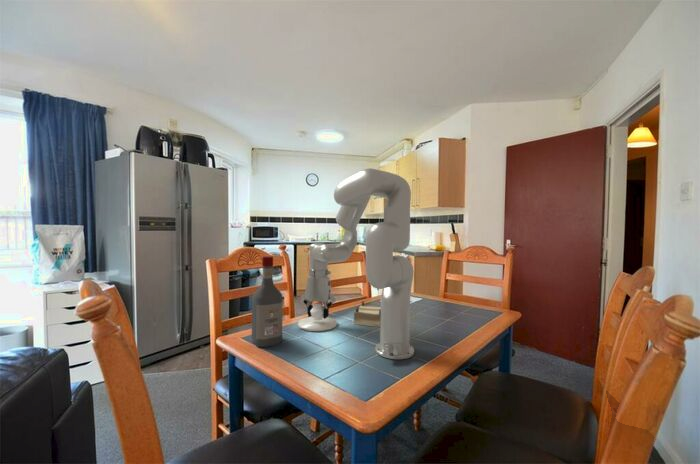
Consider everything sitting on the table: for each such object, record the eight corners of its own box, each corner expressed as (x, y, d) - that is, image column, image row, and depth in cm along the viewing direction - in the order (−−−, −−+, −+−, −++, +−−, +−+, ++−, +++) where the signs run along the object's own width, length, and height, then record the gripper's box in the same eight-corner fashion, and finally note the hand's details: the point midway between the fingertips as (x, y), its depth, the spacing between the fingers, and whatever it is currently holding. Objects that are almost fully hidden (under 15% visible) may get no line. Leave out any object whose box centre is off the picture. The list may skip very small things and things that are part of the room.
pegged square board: (382, 327, 122) (382, 310, 121) (354, 324, 125) (354, 307, 125) (387, 318, 133) (387, 303, 133) (361, 315, 137) (361, 300, 136)
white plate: (328, 334, 113) (328, 330, 113) (290, 329, 118) (290, 326, 118) (341, 321, 129) (341, 318, 129) (307, 317, 133) (307, 314, 133)
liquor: (284, 343, 104) (285, 257, 103) (258, 349, 99) (258, 258, 98) (274, 335, 111) (275, 255, 111) (250, 340, 106) (250, 256, 105)
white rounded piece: (315, 316, 127) (315, 300, 127) (327, 318, 124) (327, 301, 124) (307, 320, 121) (307, 303, 121) (320, 322, 119) (320, 305, 119)
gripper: (341, 273, 124) (340, 316, 124) (303, 271, 129) (302, 312, 129) (335, 276, 117) (334, 321, 117) (295, 273, 121) (294, 317, 122)
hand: (317, 316), depth 123 cm, fingers closed on white rounded piece, 6 cm apart
